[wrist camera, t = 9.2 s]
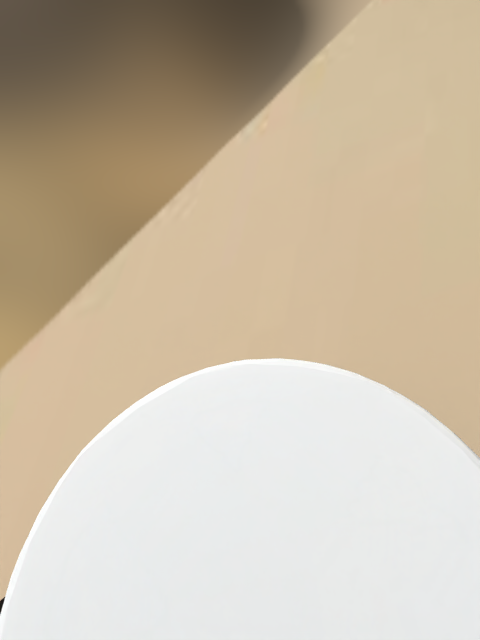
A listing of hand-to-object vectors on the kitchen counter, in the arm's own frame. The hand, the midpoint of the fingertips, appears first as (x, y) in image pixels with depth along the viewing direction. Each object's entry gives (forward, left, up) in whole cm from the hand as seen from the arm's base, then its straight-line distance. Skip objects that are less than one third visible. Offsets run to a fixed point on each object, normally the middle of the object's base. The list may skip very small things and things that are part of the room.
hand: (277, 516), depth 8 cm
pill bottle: (-1, 0, -7) cm, 7 cm away
